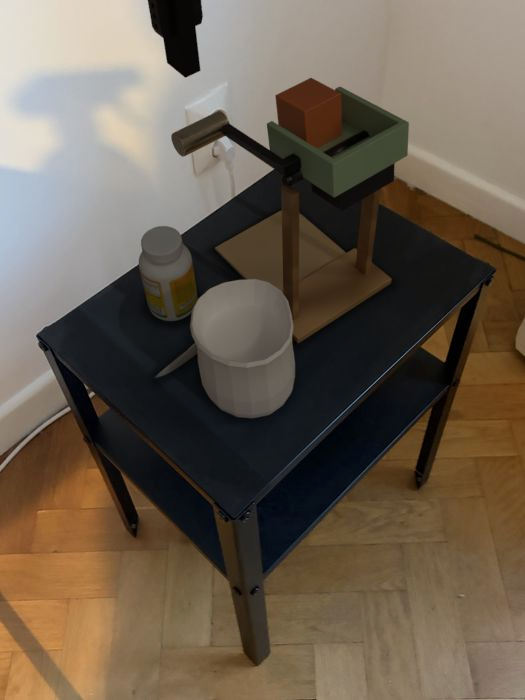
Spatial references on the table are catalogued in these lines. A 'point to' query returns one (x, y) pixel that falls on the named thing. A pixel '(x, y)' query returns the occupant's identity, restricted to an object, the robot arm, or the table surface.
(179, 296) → the supplement bottle
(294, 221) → the scoop stand
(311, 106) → the block
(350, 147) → the tilting tray
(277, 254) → the mat
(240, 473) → the table surface
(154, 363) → the table surface
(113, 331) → the table surface
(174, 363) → the pocket knife
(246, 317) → the cup
